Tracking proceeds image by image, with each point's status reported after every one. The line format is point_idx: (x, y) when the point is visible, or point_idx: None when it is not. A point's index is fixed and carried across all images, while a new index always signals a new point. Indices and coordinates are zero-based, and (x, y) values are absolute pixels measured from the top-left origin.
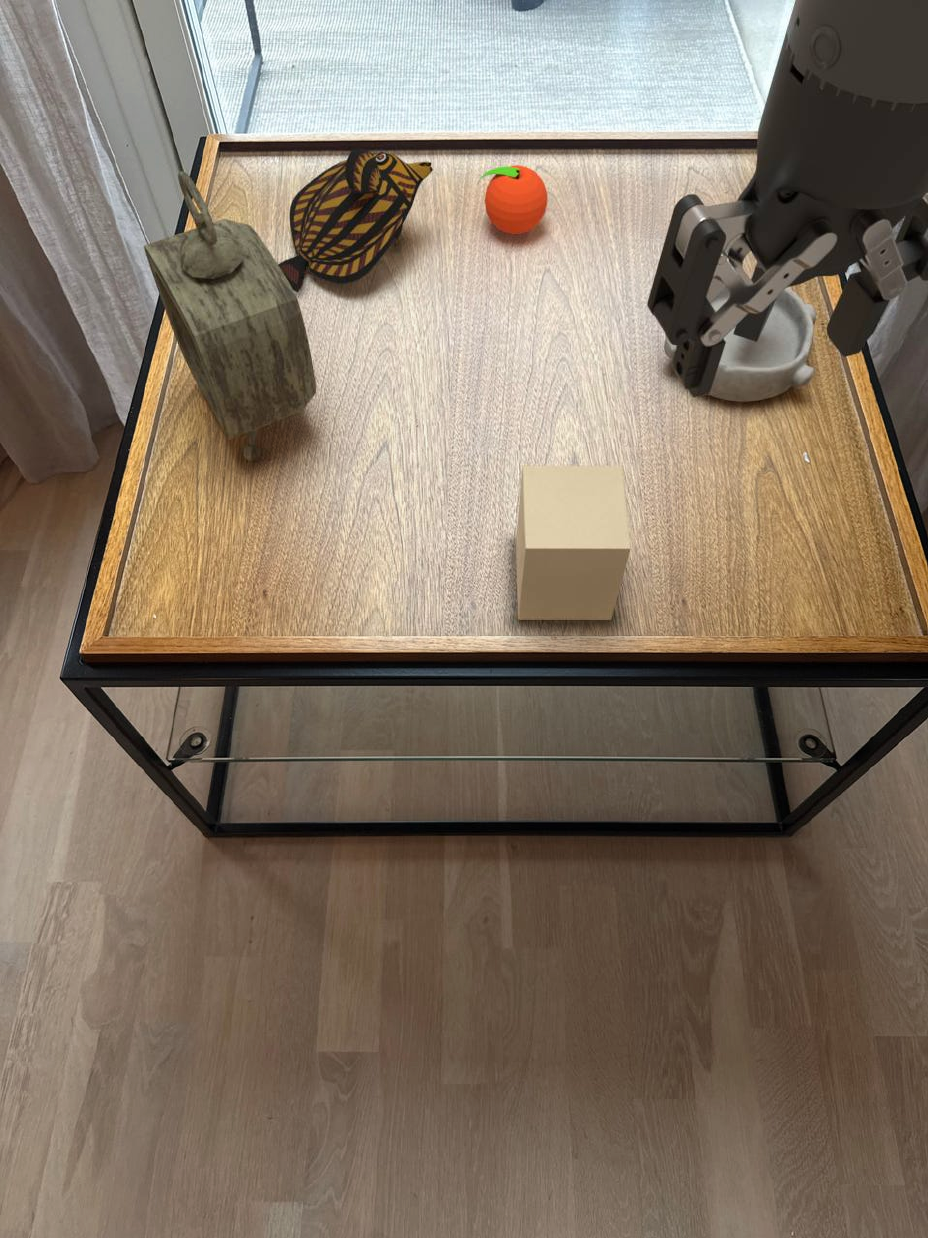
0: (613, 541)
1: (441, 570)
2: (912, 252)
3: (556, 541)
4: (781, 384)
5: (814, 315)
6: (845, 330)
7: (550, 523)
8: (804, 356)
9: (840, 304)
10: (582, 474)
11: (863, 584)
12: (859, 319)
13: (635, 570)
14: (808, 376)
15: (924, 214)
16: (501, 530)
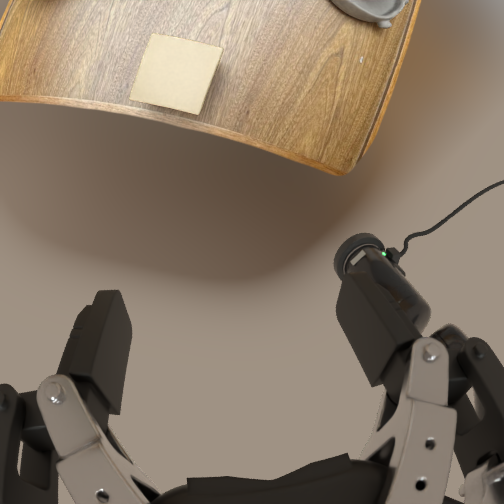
0: (189, 106)
1: (117, 60)
2: (450, 395)
3: (150, 98)
4: (371, 20)
5: (407, 2)
6: (351, 316)
7: (151, 83)
8: (390, 18)
9: (369, 309)
10: (191, 48)
11: (344, 139)
12: (360, 351)
13: (229, 84)
14: (386, 27)
15: (480, 433)
16: None
